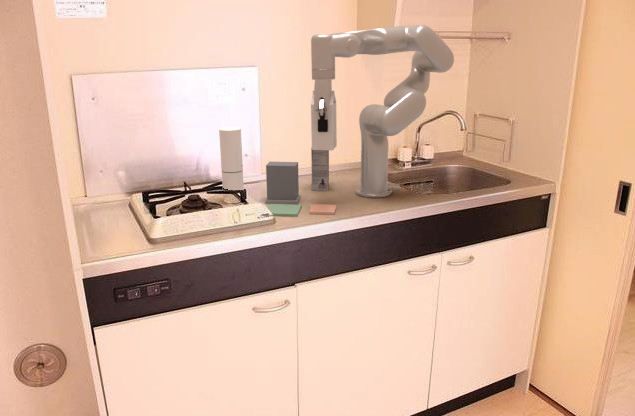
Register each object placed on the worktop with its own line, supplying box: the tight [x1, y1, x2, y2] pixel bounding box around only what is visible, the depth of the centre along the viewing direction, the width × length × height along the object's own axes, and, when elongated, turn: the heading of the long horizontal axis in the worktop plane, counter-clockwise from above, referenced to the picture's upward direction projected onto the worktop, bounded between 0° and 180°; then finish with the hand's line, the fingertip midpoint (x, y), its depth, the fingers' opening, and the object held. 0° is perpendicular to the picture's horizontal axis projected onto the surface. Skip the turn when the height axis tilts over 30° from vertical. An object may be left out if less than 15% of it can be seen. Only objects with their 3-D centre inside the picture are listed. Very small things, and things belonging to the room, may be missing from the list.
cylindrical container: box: [218, 126, 245, 198], centre depth 182 cm, size 7×7×25 cm
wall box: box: [265, 161, 302, 205], centre depth 183 cm, size 11×8×13 cm
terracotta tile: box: [308, 203, 337, 216], centre depth 174 cm, size 8×8×1 cm
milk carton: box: [310, 90, 338, 151], centre depth 175 cm, size 7×7×19 cm
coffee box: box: [310, 147, 330, 192], centre depth 199 cm, size 9×6×16 cm
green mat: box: [266, 203, 303, 218], centre depth 174 cm, size 11×10×1 cm
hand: (324, 129), depth 176 cm, fingers closed on milk carton, 7 cm apart
